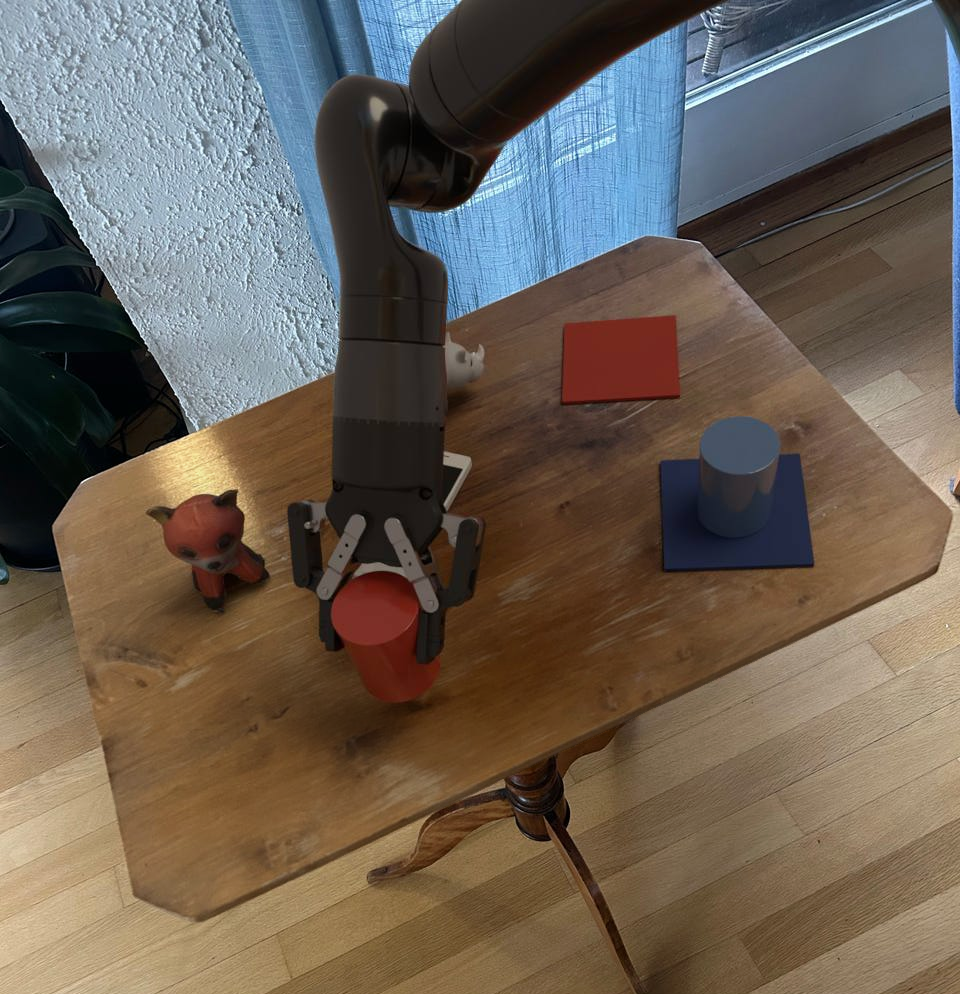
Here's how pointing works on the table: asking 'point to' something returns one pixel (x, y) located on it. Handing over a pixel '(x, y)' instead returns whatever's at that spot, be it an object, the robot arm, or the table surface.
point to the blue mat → (704, 550)
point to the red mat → (620, 360)
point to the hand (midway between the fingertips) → (380, 654)
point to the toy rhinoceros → (462, 364)
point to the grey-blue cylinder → (737, 476)
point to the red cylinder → (383, 635)
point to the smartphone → (453, 479)
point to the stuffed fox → (210, 543)
